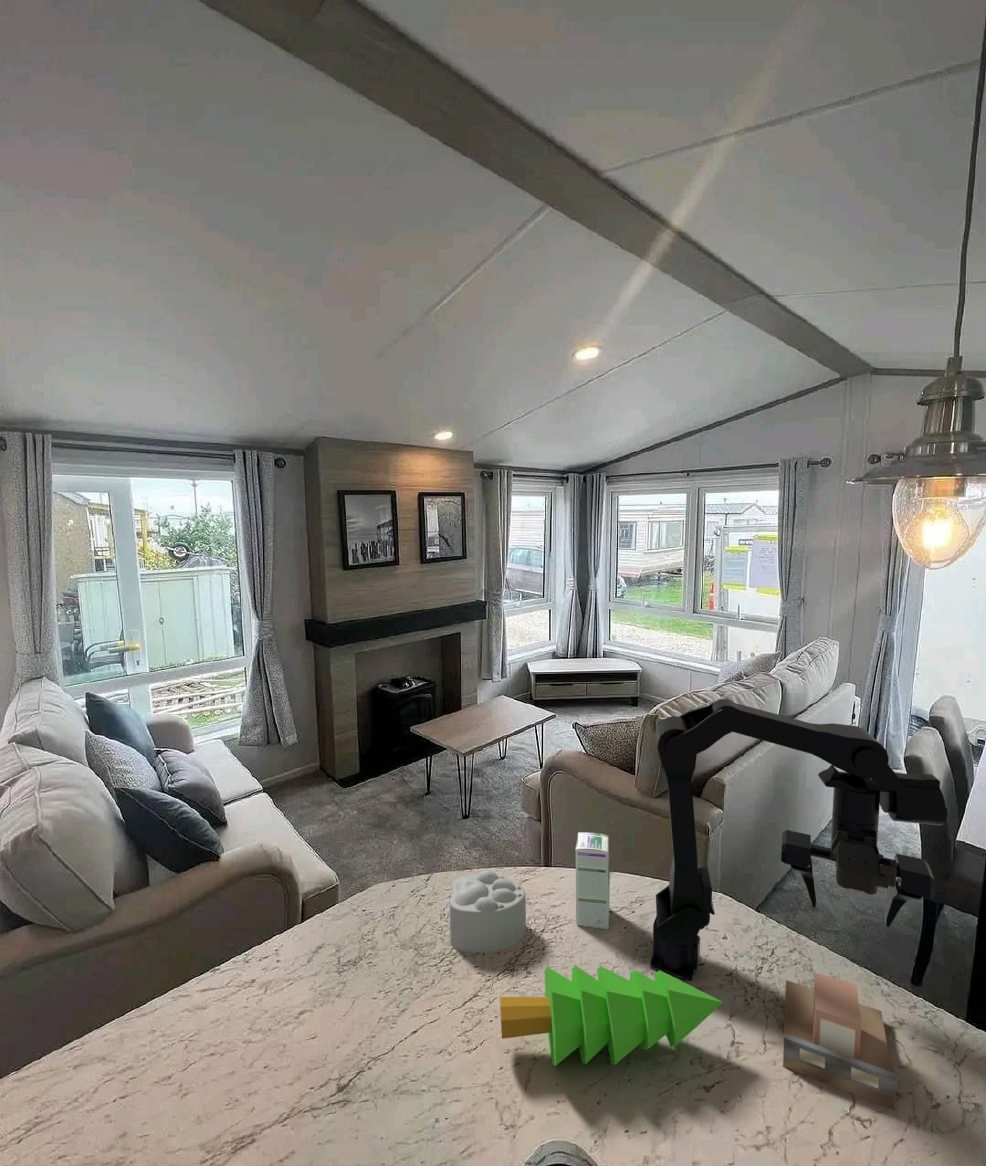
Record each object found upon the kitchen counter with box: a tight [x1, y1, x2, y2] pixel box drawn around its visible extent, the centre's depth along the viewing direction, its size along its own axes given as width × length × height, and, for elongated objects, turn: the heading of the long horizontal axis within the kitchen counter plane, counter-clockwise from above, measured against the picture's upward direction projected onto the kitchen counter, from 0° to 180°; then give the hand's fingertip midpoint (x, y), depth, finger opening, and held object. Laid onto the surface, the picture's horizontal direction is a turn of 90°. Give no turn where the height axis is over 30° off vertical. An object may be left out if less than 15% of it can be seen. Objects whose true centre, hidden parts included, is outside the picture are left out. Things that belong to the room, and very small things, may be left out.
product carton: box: [812, 971, 861, 1060], centre depth 76 cm, size 7×5×6 cm
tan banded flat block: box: [782, 979, 898, 1110], centre depth 77 cm, size 12×14×4 cm
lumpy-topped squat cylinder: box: [449, 869, 527, 954], centre depth 99 cm, size 10×13×9 cm
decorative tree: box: [499, 965, 724, 1067], centre depth 77 cm, size 11×12×30 cm
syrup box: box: [575, 831, 611, 930], centre depth 102 cm, size 6×6×14 cm
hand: (849, 915), depth 85 cm, fingers open, 9 cm apart
